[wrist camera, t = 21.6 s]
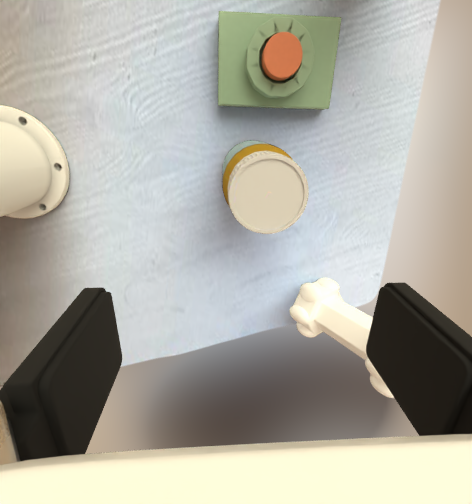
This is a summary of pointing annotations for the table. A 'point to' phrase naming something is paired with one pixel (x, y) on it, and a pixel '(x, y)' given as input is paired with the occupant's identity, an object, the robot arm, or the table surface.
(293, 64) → the orange button cap
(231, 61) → the button housing
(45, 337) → the robot arm
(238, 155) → the bottle
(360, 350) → the white bone
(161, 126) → the table surface
